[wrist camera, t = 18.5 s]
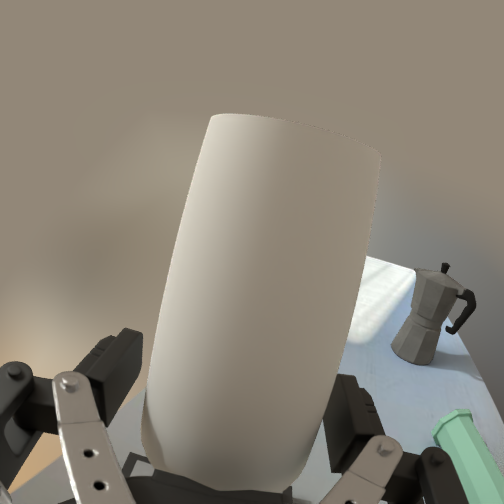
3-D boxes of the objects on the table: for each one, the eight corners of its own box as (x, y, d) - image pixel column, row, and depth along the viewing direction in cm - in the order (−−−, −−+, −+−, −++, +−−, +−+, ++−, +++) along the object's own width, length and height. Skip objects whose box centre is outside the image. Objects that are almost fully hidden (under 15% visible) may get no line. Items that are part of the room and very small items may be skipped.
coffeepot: (374, 337, 57) (405, 248, 52) (404, 334, 60) (433, 253, 56) (428, 382, 43) (473, 281, 38) (455, 372, 47) (494, 282, 42)
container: (558, 555, 4) (475, 401, 28) (504, 591, 5) (434, 416, 29) (529, 575, 5) (465, 432, 29) (479, 603, 6) (427, 446, 30)
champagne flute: (222, 592, 10) (444, 148, 4) (129, 546, 12) (118, 98, 6) (260, 526, 17) (404, 174, 10) (178, 490, 19) (236, 136, 12)
